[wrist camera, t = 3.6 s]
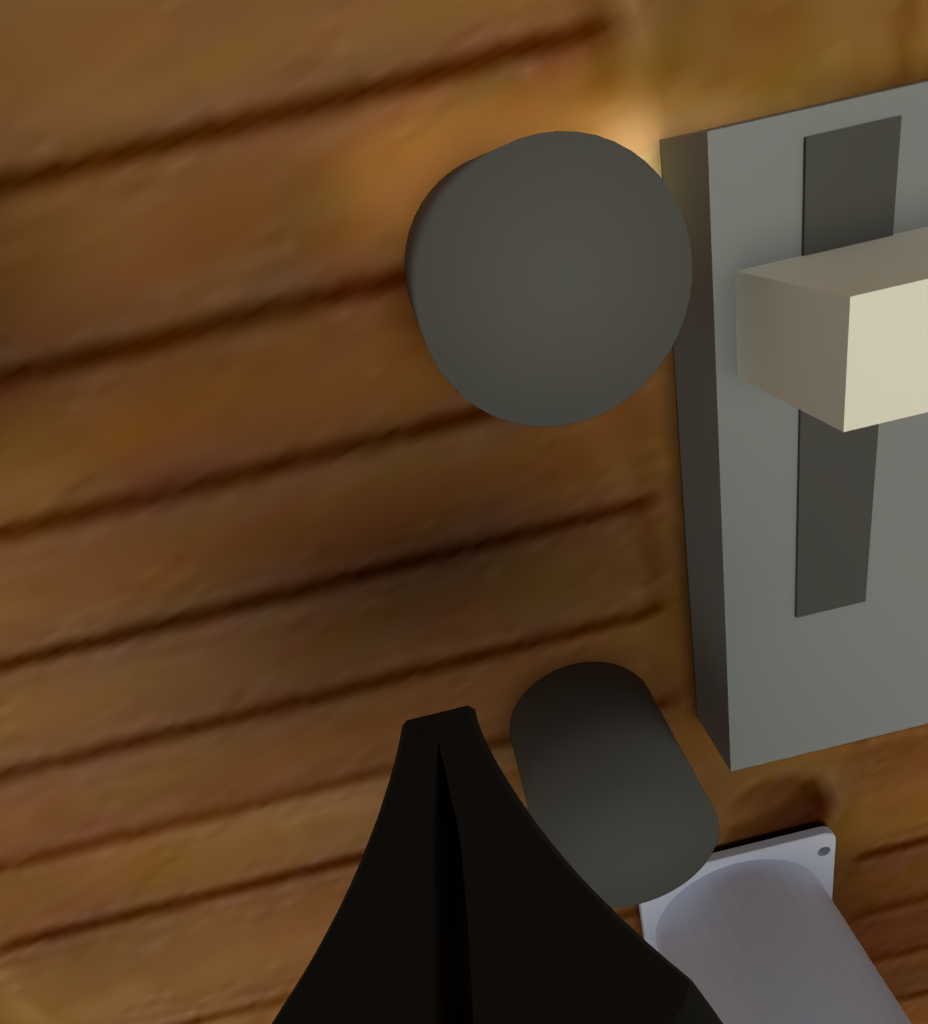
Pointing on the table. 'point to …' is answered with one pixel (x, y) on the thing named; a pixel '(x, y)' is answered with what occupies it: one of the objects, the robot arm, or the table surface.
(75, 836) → the table surface
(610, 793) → the dark grey cylinder
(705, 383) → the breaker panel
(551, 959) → the robot arm
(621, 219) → the squat charcoal cylinder
